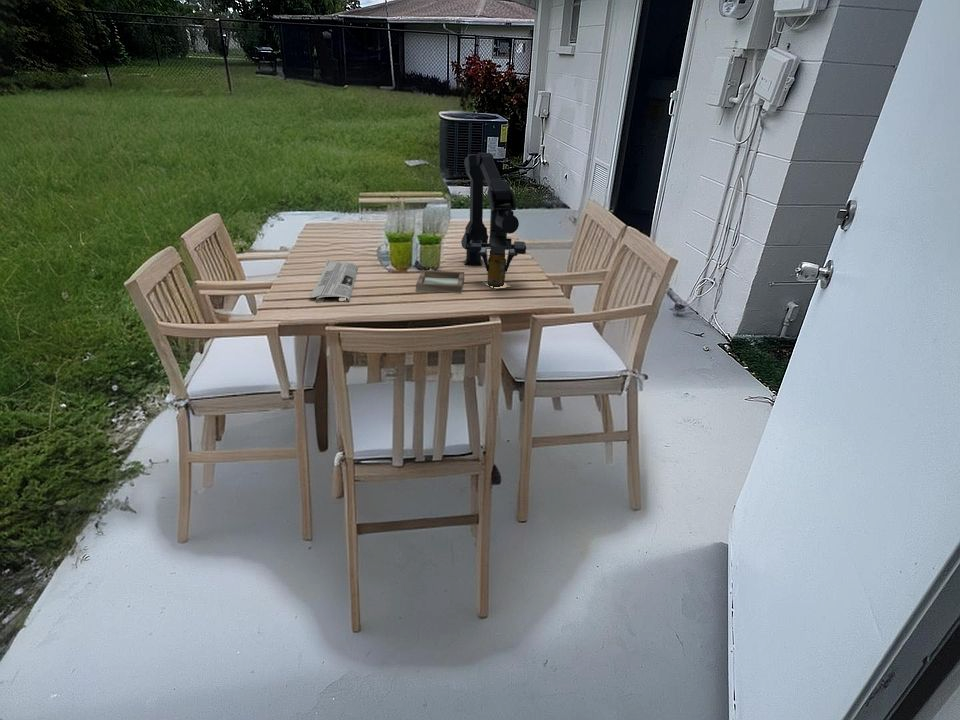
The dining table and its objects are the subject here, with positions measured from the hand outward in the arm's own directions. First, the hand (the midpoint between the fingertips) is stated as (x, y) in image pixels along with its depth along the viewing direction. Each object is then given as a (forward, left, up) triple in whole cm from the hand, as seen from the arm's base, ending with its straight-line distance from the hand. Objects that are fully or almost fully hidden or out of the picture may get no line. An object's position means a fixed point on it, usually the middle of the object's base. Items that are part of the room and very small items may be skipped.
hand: (496, 271), depth 194 cm
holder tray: (+2, -19, -5) cm, 20 cm away
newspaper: (+4, -55, -6) cm, 55 cm away
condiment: (0, 0, -5) cm, 5 cm away
